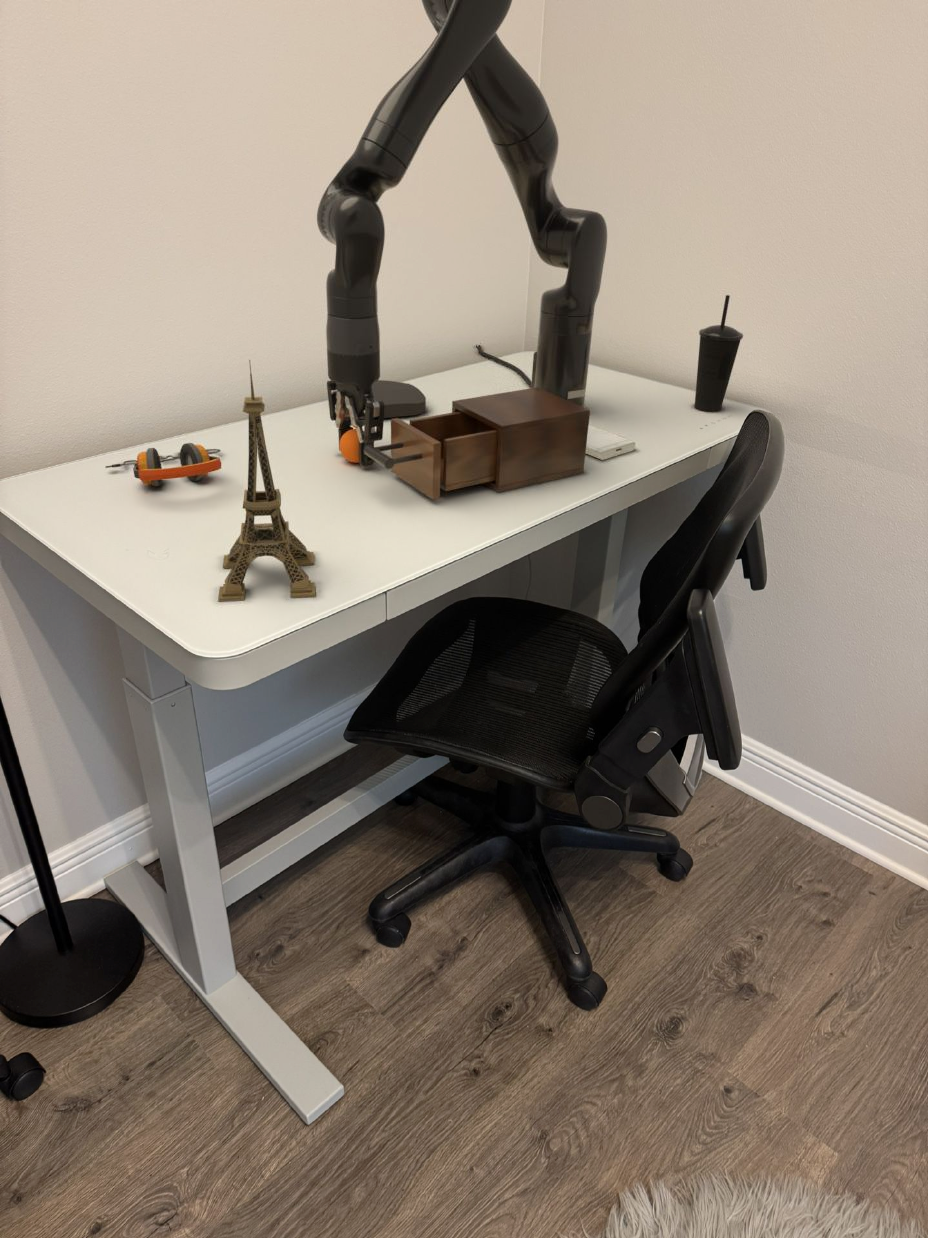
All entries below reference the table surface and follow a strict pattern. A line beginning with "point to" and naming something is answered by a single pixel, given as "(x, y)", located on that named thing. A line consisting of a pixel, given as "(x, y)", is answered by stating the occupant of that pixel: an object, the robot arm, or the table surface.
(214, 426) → the table surface
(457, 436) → the drawer
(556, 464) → the cabinet
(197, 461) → the headphones
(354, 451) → the ball
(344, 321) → the robot arm
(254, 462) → the eiffel tower
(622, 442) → the hard drive
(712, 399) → the drinking cup
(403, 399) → the media streaming box
